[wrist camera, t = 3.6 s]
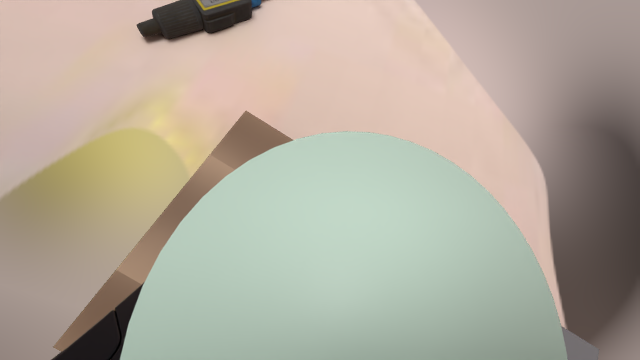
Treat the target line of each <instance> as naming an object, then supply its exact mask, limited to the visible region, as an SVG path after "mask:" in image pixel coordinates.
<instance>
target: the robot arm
mask: <svg viewBox="0 0 640 360" xmlns="http://www.w3.org/2000/svg"><path fill="white" fill-rule="evenodd" d="M143 284H144V283H143ZM143 284H141V285H140V286H139V287H138V288H137V289H136V290H134V291H133V292H132V293H131V294H130V295H129V296H127V297H126V298H125V299H124V300H123V301H122V302H121V303H119V304H118V305H117V306H116V307H115V310H111V311H110V312H109V313H108V314H106V315H105V316H104V317H103V318H102V319H101V320H100V321H98V322H97V323H96V324H95V325H94V326H92V327H91V328H90V329H89V330H88V331H86V332H85V333H84V334H83V335H82V336H80V337H79V338H78V339H77V340H76V341H74V342H73V343H72V344H71V345H70V346H68V347H67V348H66V349H65V350H63V351H62V352H61V353H60V354H58V355H57V356H56V357H54V358H53V359H52V360H120V357H121V353H122V349H123V345H124V341H125V337H126V333H127V328H128V324H129V321H130V319H131V316H132V313H133V311H134V308H135V305H136V303H137V300H138V297H139V295H140V292H141V289H142V287H143Z"/></svg>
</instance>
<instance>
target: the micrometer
mask: <svg viewBox="0 0 640 360" xmlns="http://www.w3.org/2000/svg"><path fill="white" fill-rule="evenodd" d="M260 4H261V0H179V1H176V2H174V3H171V4H168V5H165V6H162V7H159V8H156V9H153V11H152V15H153V19H150V20H147V21H144V22H141V23H139V24H137V27H138V29H139V31H140V33H141V34H142V36H143V37H147V36H151V35H155V34H159V33H162V35H163V36H164V37H165V38H168V39H170V38H173V37H177V36H181V35H185V34H188V33H192V32H196V31H199V30H202V29H203V28H204V30H205V31H206V32H208V33H211V32H215V31H218V30H221V29H224V28H227V27H230V26H232V25H234V24H237V23H239V22H242V21H245V20H248V19H250V18H251V16H252V7H255V6H259V5H260Z"/></svg>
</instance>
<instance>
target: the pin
mask: <svg viewBox="0 0 640 360" xmlns="http://www.w3.org/2000/svg"><path fill="white" fill-rule="evenodd" d="M120 360H568V359H567V352H566V347H565V342H564V337H563V332H562V327H561V323H560V320H559V316H558V313H557V310H556V306H555V303H554V299H553V297H552V294H551V291H550V289H549V286H548V284H547V281H546V279H545V276H544V273H543V271H542V269H541V267H540V265H539V263H538V261H537V259H536V257H535V255H534V253H533V251H532V249H531V248H530V246H529V244H528V243H527V241H526V239H525V238H524V236H523V235H522V233H521V231H520V230H519V228H518V227H517V225H516V224H515V223H514V221H513V220H512V219H511V217H510V216H509V215H508V213H507V212H506V211H505V209H504V208H503V207H502V206H501V205H500V204H499V203H498V201H497V200H496V199H495V198H494V197H493V196H492V195H491V194H490V193H489V192H488V191H487V190H486V189H485V188H484V187H483V186H482V185H481V184H480V183H478V182H477V181H476V180H475V179H474V178H473V177H472V176H471V175H469V174H468V173H467V172H465V171H464V170H462V169H461V168H460V167H458V166H457V165H455V164H454V163H453V162H451V161H449V160H448V159H446V158H444V157H442V156H441V155H439V154H437V153H435V152H433V151H432V150H429V149H427V148H424V147H422V146H420V145H417V144H415V143H413V142H410V141H406V140H403V139H399V138H396V137H393V136H388V135H382V134H376V133H370V132H348V131H344V132H333V133H322V134H317V135H313V136H308V137H304V138H299V139H296V140H293V141H290V142H288V143H285V144H282V145H279V146H277V147H274V148H272V149H270V150H268V151H266V152H264V153H262V154H260V155H258V156H256V157H254V158H252V159H251V160H249V161H247V162H246V163H244V164H243V165H242V166H240V167H239V168H237V169H236V170H234V171H233V172H231V173H230V174H228V175H227V176H226V177H224V178H223V179H222V180H221V181H220V182H219V183H218V184H217V185H215V186H214V187H213V188H212V189H211V190H210V191H209V192H208V193H207V194H205V195H204V196H203V197H202V198H201V199H200V200H199V202H198V203H197V204H196V205H195V206H194V207H193V208H192V210H191V211H190V212H189V213H188V214H187V215H186V216H185V218H184V219H183V220H182V221H181V222H180V224H179V225H178V227H177V228H176V230H175V231H174V232H173V234H172V235H171V237H170V238H169V240H168V241H167V243H166V244H165V246H164V247H163V249H162V250H161V252H160V253H159V255H158V257H157V259H156V261H155V263H154V265H153V267H152V269H151V271H150V273H149V275H148V277H147V279H146V281H145V282H144V284H143V287H142V289H141V292H140V295H139V297H138V300H137V303H136V305H135V308H134V311H133V313H132V316H131V319H130V321H129V324H128V328H127V333H126V337H125V341H124V345H123V349H122V353H121V357H120Z"/></svg>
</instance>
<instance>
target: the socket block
mask: <svg viewBox="0 0 640 360" xmlns="http://www.w3.org/2000/svg"><path fill="white" fill-rule="evenodd" d="M290 141H293V140H292V139H291V138H289V137H288V136H286V135H284V134H283V133H281V132H280V131H278V130H276V129H275V128H273V127H271V126H270V125H268V124H267V123H265V122H263V121H262V120H260V119H259V118H257V117H255V116H254V115H252V114H251V113H249V112H247V111H245V112H244V113H243V115H242V116H241V117H240V118H239V120H238V121H237V122H236V123H235V124H234V126H233V127H232V128H231V129H230V131H229V132H228V133H227V134H226V136H225V137H224V138H223V139H222V140H221V142H220V143H219V144H218V145H217V147H216V148H215V149H214V150H213V151H212V153H211V154H210V155H209V156H208V158H207V159H206V160H205V161H204V163H203V164H202V165H201V166H200V167H199V169H198V170H197V171H196V172H195V174H194V175H193V176H192V177H191V178H190V180H189V181H188V182H187V183H186V185H185V186H184V187H183V188H182V190H181V191H180V192H179V193H178V194H177V196H176V197H175V198H174V199H173V201H172V202H171V203H170V204H169V205H168V207H167V208H166V209H165V210H164V212H163V213H162V214H161V215H160V217H159V218H158V219H157V220H156V221H155V223H154V224H153V225H152V226H151V228H150V229H149V230H148V231H147V232H146V234H145V235H144V236H143V237H142V239H141V240H140V241H139V242H138V244H137V245H136V246H135V247H134V249H133V250H132V251H131V252H130V253H129V255H128V256H127V257H126V258H125V259H124V261H123V262H122V263H121V265H120V266H119V267H118V268H117V269H116V271H115V272H114V273H113V274H112V275H111V277H110V278H109V279H108V280H107V282H106V283H105V284H104V285H103V287H102V288H101V289H100V290H99V291H98V293H97V294H96V295H95V296H94V298H93V299H92V300H91V301H90V303H89V304H88V305H87V306H86V307H85V309H84V310H83V311H82V312H81V313H80V315H79V316H78V317H77V318H76V320H75V321H74V322H73V323H72V325H71V326H70V327H69V328H68V329H67V331H66V332H65V333H64V334H63V336H62V337H61V338H60V339H59V340H58V342H57V343H56V345H55V346H54V348H56V349H58V350H59V351H61V352H62V351H63V350H65V349H66V348H67V347H68V346H70V345H71V344H72V343H73V342H74V341H76V340H77V339H78V338H79V337H80V336H82V335H83V334H84V333H85V332H86V331H88V330H89V329H90V328H91V327H92V326H94V325H95V324H96V323H97V322H98V321H100V320H101V319H102V318H103V317H104V316H105V315H106V314H108V313H109V312H110V311H111V310H115V307H116V306H117V305H118V304H119V303H121V302H122V301H123V300H124V299H125V298H126V297H127V296H129V295H130V294H131V293H132V292H133V291H134V290H136V289H137V288H138V287H139V286H140V285H141V284H143V283H144V282H145V281H146V279H147V277H148V275H149V273H150V271H151V269H152V267H153V265H154V263H155V261H156V259H157V257H158V255H159V253H160V252H161V250H162V249H163V247H164V246H165V244H166V243H167V241H168V240H169V238H170V237H171V235H172V234H173V232H174V231H175V230H176V228H177V227H178V225H179V224H180V222H181V221H182V220H183V219H184V218H185V216H186V215H187V214H188V213H189V212H190V211H191V210H192V208H193V207H194V206H195V205H196V204H197V203H198V202H199V200H200V199H201V198H202V197H203V196H204V195H205V194H207V193H208V192H209V191H210V190H211V189H212V188H213V187H214V186H215V185H217V184H218V183H219V182H220V181H221V180H222V179H223V178H224V177H226V176H227V175H228V174H230V173H231V172H233V171H234V170H236V169H237V168H239V167H240V166H242V165H243V164H244V163H246V162H247V161H249V160H251V159H252V158H254V157H256V156H258V155H260V154H262V153H264V152H266V151H268V150H270V149H272V148H274V147H277V146H279V145H282V144H285V143H288V142H290Z"/></svg>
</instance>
